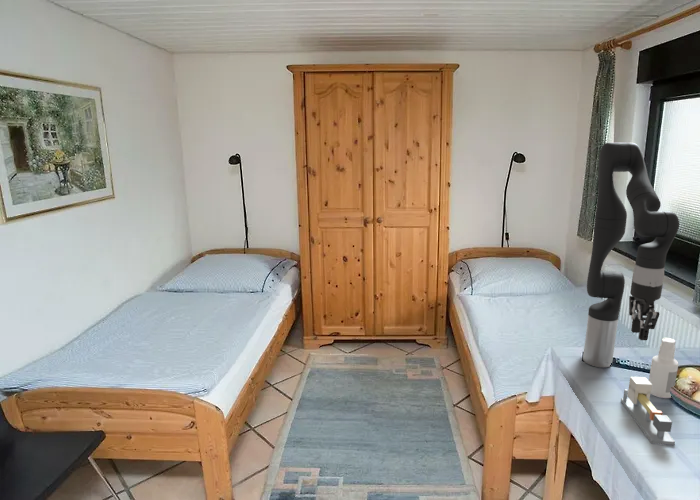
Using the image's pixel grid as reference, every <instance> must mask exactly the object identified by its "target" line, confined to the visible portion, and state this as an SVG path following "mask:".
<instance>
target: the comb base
mask: <svg viewBox="0 0 700 500" xmlns="http://www.w3.org/2000/svg"><path fill="white" fill-rule="evenodd" d="M620 402H621V403H622V405H623V406H624V408H625V409H626V411H627V413H629V415H630V416H631V417H632V419H633V420H634V421H635V422H636V424H637V425H638V426H639V429H641V431H642V432H643V434H644V436H646V438H647V439H648V441H649V442H650V443H651V444H652V445H666V446H667V445H669V446H675V444H676V441H675V440H674V439H673V437H672V436H671V434H670V432H661V431H658V430H657V429H656V428H655V427H654V425H653V421H651V419H650V418H649V417H650V414H649V413H648V412H647V410H646V409H645V408H644V407H643V405H642V404H641V403H640V402H639V400H638V399H637V404H633V403H632V402H631V400H630V399H629V398H628V389H627V388H624V389H623V396H622V398H620Z"/></svg>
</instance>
